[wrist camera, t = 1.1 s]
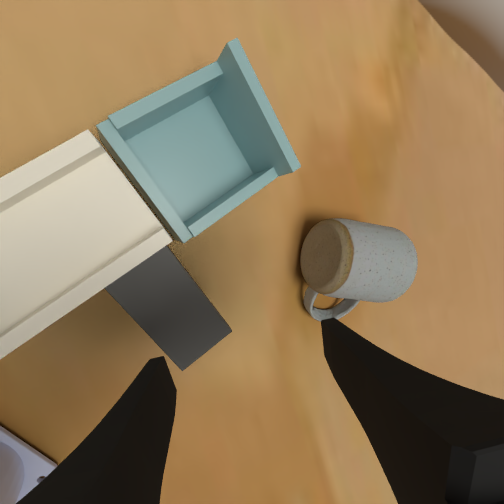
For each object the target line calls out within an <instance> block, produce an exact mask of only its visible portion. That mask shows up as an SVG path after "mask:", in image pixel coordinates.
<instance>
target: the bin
mask: <svg viewBox="0 0 504 504" xmlns="http://www.w3.org/2000/svg"><path fill="white" fill-rule="evenodd" d="M96 127H97V130H98V133H99V136H100V140H101V142H102V143H103V145H104V146H105V147H106V149H107V150H108V151H109V152H110V154H111V155H112V156H113V158H114V159H115V160H116V162H117V163H118V164H119V166H120V167H121V168H122V170H123V171H124V172H125V174H126V175H127V176H128V178H129V179H130V180H131V182H132V183H133V184H134V186H135V187H136V188H137V190H138V191H139V192H140V194H141V195H142V196H143V198H144V199H145V200H146V202H147V203H148V204H149V206H150V207H151V208H152V210H153V211H154V212H155V214H156V215H157V216H158V218H159V219H160V220H161V222H162V223H163V224H164V226H165V227H166V228H167V230H168V231H169V232H170V233H171V235H172V236H173V237H174V239H175V240H177V241H179V242H182V243H185V242H186V241H188V240H189V239H190V238H192V237H195V236H197V235H198V234H200V233H201V232H202V231H204V230H205V229H206V228H208V227H209V226H211V225H212V224H213V223H215V222H216V221H218V220H219V219H220V218H222V217H223V216H224V215H226V214H227V213H229V212H230V211H231V210H233V209H234V208H235V207H237V206H238V205H240V204H241V203H242V202H244V201H245V200H247V199H248V198H249V197H251V196H252V195H253V194H255V193H256V192H258V191H259V190H260V189H262V188H263V187H264V186H266V185H267V184H269V183H270V182H271V181H273V180H274V179H275V178H277V177H278V176H281V175H285V174H288V173H292V172H294V171H295V170H297V169H298V168H299V167H301V165H300V163H299V161H298V159H297V157H296V155H295V153H294V151H293V149H292V147H291V145H290V143H289V141H288V139H287V137H286V135H285V133H284V131H283V129H282V127H281V125H280V123H279V121H278V119H277V117H276V115H275V113H274V111H273V109H272V107H271V105H270V103H269V101H268V99H267V97H266V95H265V93H264V90H263V88H262V86H261V84H260V82H259V80H258V78H257V76H256V74H255V72H254V70H253V68H252V66H251V64H250V62H249V60H248V58H247V56H246V54H245V52H244V50H243V48H242V46H241V44H240V42H239V40H238V38H236V39H234V40H232V41H230V42H228V43H227V44H226V46H225V47H224V49H223V51H222V53H221V54H220V56H219V58H218V60H217V61H216V62H214V63H212V64H210V65H208V66H206V67H204V68H202V69H200V70H198V71H196V72H194V73H192V74H190V75H188V76H186V77H184V78H182V79H180V80H178V81H176V82H174V83H172V84H170V85H168V86H166V87H164V88H162V89H160V90H158V91H156V92H154V93H152V94H150V95H148V96H146V97H144V98H142V99H140V100H139V101H137V102H135V103H133V104H131V105H129V106H127V107H125V108H123V109H121V110H119V111H117V112H115V113H113V114H111V115H109V116H108V119H107V120H105V121H103V122H101V123H99V124H98V125H96Z"/></svg>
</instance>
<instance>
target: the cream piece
mask: <svg viewBox="0 0 504 504" xmlns="http://www.w3.org/2000/svg"><path fill="white" fill-rule="evenodd" d="M171 242H172V239H171V237H170V235H169V234H168V232H167V231H166V230H165V229H164V227H163V226H162V225H161V223H160V222H159V221H158V219H157V218H156V217H155V215H154V214H153V213H152V211H151V210H150V209H149V207H148V206H147V205H146V203H145V202H144V201H143V199H142V198H141V197H140V195H139V194H138V193H137V192H136V190H135V189H134V188H133V186H132V185H131V184H130V182H129V181H128V180H127V178H126V177H125V176H124V174H123V173H122V172H121V170H120V169H119V168H118V166H117V165H116V164H115V162H114V161H113V160H112V158H111V157H110V156H109V154H108V153H107V152H106V151H105V149H104V148H103V147H102V145H101V144H100V143H99V141H98V140H97V139H96V138H95V137H94V136H93V134H92V133H91V132H90V131H89V130H86V131H84V132H82V133H81V134H79V135H77V136H75V137H73V138H72V139H70V140H68V141H66V142H64V143H62V144H61V145H59V146H57V147H55V148H53V149H52V150H50V151H48V152H46V153H44V154H43V155H41V156H39V157H37V158H35V159H34V160H32V161H30V162H28V163H26V164H24V165H23V166H21V167H19V168H17V169H15V170H14V171H12V172H10V173H8V174H6V175H5V176H3V177H1V178H0V359H2V358H3V357H4V356H6V355H7V354H9V353H10V352H12V351H13V350H15V349H16V348H18V347H19V346H20V345H22V344H23V343H25V342H26V341H28V340H29V339H31V338H32V337H34V336H35V335H36V334H38V333H39V332H41V331H42V330H44V329H45V328H47V327H48V326H50V325H51V324H53V323H54V322H55V321H57V320H58V319H60V318H61V317H63V316H64V315H66V314H67V313H69V312H70V311H71V310H73V309H74V308H76V307H77V306H79V305H80V304H82V303H83V302H85V301H86V300H87V299H89V298H90V297H92V296H93V295H95V294H96V293H98V292H99V291H101V290H102V289H104V288H105V289H106V290H107V291H108V293H109V294H110V295H111V296H112V297H113V298H114V299H115V300H116V301H117V302H118V303H119V304H120V305H121V306H122V307H123V308H124V310H125V311H126V312H127V313H128V314H129V315H130V316H131V317H132V318H133V319H134V320H135V321H136V322H137V323H138V324H139V326H140V327H141V328H142V329H143V330H144V331H145V332H146V333H147V334H148V335H149V336H150V337H151V338H152V339H153V340H154V342H155V343H156V344H157V345H158V346H159V347H160V348H161V349H162V350H163V351H164V352H165V353H166V354H167V355H168V356H169V358H170V359H171V360H172V361H173V362H174V363H175V364H176V365H177V366H178V367H179V368H180V369H181V370H182V371H183V370H184V369H186V368H187V367H188V366H189V365H191V364H192V363H193V362H194V361H196V360H197V359H198V358H199V357H201V356H202V355H203V354H204V353H206V352H207V351H208V350H209V349H211V348H212V347H213V346H214V345H216V344H217V343H218V342H219V341H221V340H222V339H223V338H224V337H226V336H227V335H228V334H229V333H231V332H232V330H231V328H230V327H229V325H228V324H227V322H226V321H225V320H224V319H223V317H222V316H221V315H220V313H219V312H218V311H217V310H216V308H215V307H214V306H213V304H212V303H211V302H210V301H209V299H208V298H207V297H206V295H205V294H204V293H203V291H202V290H201V289H200V288H199V286H198V285H197V284H196V282H195V281H194V280H193V279H192V277H191V276H190V275H189V273H188V272H187V271H186V269H185V268H184V267H183V266H182V264H181V263H180V262H179V260H178V259H177V258H176V257H175V255H174V254H173V253H172V251H171V250H170V249H169V247H168V246H167V245H168V244H169V243H171Z"/></svg>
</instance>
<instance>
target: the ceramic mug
mask: <svg viewBox="0 0 504 504" xmlns="http://www.w3.org/2000/svg"><path fill="white" fill-rule="evenodd" d="M300 264H301V271H302V274H303V277H304V279H305V281H306V283H307V284H308V285H309V287H308V288H307V290H306V292H305V296H304V306H305V308H306V310H307V311H308V312H309V314H310V315H311V316H312V317H313V318H314V319H316V320H318V321H321V320H324V319H329V318H333V317H334V318H335V319H339V318H341V317H343V316H344V315H346V314H347V313H349V312H350V311H351V310H352V309H353V308H354V307H355V306H356V305H357V304H358V302H359V301H360V300H362V301H370V302H388V301H393V300H395V299H396V298H398V297H400V296H401V295H403V294H404V293H405V291H406V290H407V289H408V288H409V287H410V286H411V284H412V282H413V280H414V278H415V274H416V271H417V253H416V250H415V247H414V245H413V243H412V241H411V240H410V239H409V238H408V237H407V236H406V235H405V234H404V233H403V232H401V231H400V230H398V229H395V228H392V227H387V226H381V225H376V224H370V223H364V222H358V221H354V220H349V219H342V218H340V219H326V220H323V221H320V222H319V223H317V224H316V225H315V226H314V227H313V228H312V229H311V230H310V231H309V233H308V234H307V236H306V238H305V240H304V243H303V246H302V249H301V259H300ZM318 293H320V294H323V295H326V296H329V297H335V298H344V299H343V300H342V301H341V302H340V303H339V304H338V305H336V306H334V307H333V308H331V309H327V310H322V309H317V308H315V307H313V304H314V300H315V298H316V296H317V294H318Z"/></svg>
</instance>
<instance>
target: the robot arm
mask: <svg viewBox="0 0 504 504" xmlns="http://www.w3.org/2000/svg"><path fill="white" fill-rule="evenodd" d="M321 326H322V336H323V346H324V356H325V358H326V360H327V363H328V365H329V367H330V370H331V372H332V374H333V376H334V378H335V380H336V382H337V384H338V385H339V387H340V389H341V390H342V392H343V394H344V396H345V397H346V399H347V401H348V403H349V404H350V406H351V408H352V409H353V411H354V413H355V415H356V416H357V418H358V420H359V422H360V423H361V425H362V427H363V429H364V431H365V433H366V434H367V436H368V438H369V441H370V443H371V445H372V447H373V449H374V451H375V453H376V455H377V458H378V460H379V462H380V464H381V466H382V468H383V471H384V473H385V475H386V477H387V479H388V482H389V484H390V486H391V488H392V490H393V493H394V495H395V497H396V500H397V502H398V504H504V400H503V399H500V398H496V397H493V396H490V395H486V394H483V393H480V392H478V391H475V390H472V389H469V388H466V387H463V386H460V385H457V384H455V383H452V382H449V381H447V380H445V379H442V378H440V377H437V376H435V375H432V374H430V373H428V372H425V371H423V370H421V369H419V368H417V367H415V366H413V365H410V364H408V363H406V362H404V361H402V360H400V359H398V358H397V357H395V356H393V355H391V354H389V353H388V352H386V351H384V350H382V349H381V348H379V347H377V346H376V345H374V344H372V343H371V342H369V341H368V340H366V339H365V338H363V337H362V336H360V335H359V334H357V333H356V332H354V331H353V330H351V329H350V328H348V327H347V326H346V325H344V324H343V323H341V322H340V321H338V320H337V319H335V318H334V317H333V318H329V319H324V320H321ZM176 392H177V390H176V387H175V385H174V382H173V379H172V377H171V374H170V371H169V369H168V366H167V363H166V361H165V358H164V356H162V357H157V358H153V359H150V360H149V361H148V362H147V364H146V365H145V366H144V368H143V369H142V370H141V372H140V373H139V374H138V376H137V377H136V378H135V380H134V381H133V382H132V383H131V385H130V386H129V387H128V389H127V390H126V391H125V393H124V394H123V395H122V396H121V398H120V399H119V400H118V401H117V403H116V404H115V405H114V406H113V407H112V409H111V410H110V411H109V412H108V413H107V415H106V416H105V417H104V418H103V419H102V421H101V422H100V423H99V424H98V425H97V426H96V427H95V429H94V430H93V431H92V432H91V433H90V434H89V435H88V436H87V437H86V438H85V439H84V440H83V441H82V442H81V444H80V445H79V446H78V447H77V448H76V449H75V450H74V451H73V452H72V453H71V454H70V455H69V456H68V457H67V458H66V459H65V460H63V461H62V462H61V463H60V464H59V465H57V464H56V463H54V462H53V461H51V460H50V459H48V458H47V457H45V456H44V455H43V454H41V453H40V452H38V451H37V450H35V449H34V448H32V447H31V446H29V445H28V444H26V443H25V442H23V441H22V440H21V439H19V438H18V437H16V436H15V435H13V434H12V433H10V432H9V431H7V430H6V429H4V428H3V427H1V426H0V504H159V503H160V494H161V486H162V480H163V473H164V468H165V463H166V458H167V453H168V448H169V443H170V438H171V433H172V427H173V422H174V416H175V407H176ZM40 476H45V477H44V478H39V477H40Z"/></svg>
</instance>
